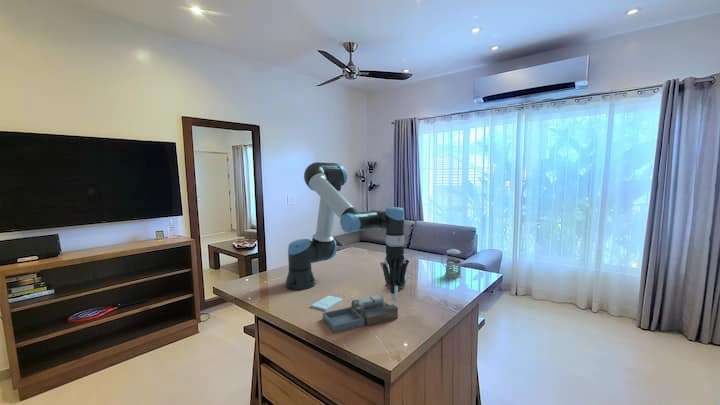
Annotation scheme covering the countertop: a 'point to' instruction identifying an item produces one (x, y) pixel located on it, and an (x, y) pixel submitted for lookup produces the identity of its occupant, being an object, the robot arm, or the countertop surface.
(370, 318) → the slot board
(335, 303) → the external hard drive
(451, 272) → the french press
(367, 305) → the aluminium chip
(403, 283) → the ceramic mug
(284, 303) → the countertop surface
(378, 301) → the aluminium chip
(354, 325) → the chip tray
